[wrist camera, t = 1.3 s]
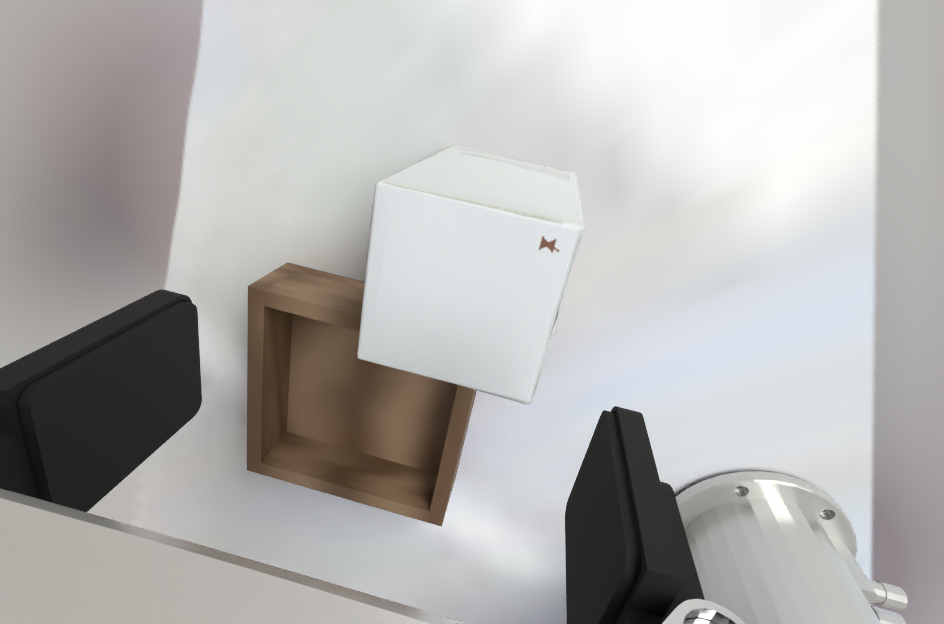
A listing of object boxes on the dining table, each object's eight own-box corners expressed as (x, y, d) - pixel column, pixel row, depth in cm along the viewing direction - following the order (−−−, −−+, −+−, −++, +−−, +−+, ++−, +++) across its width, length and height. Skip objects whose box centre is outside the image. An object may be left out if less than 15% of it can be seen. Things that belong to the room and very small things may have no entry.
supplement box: (451, 141, 28) (372, 171, 16) (580, 172, 27) (593, 225, 16) (429, 263, 31) (350, 360, 19) (545, 293, 30) (534, 411, 19)
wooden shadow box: (494, 315, 31) (484, 348, 27) (454, 479, 37) (441, 526, 33) (287, 262, 32) (248, 286, 28) (280, 430, 38) (246, 469, 34)
